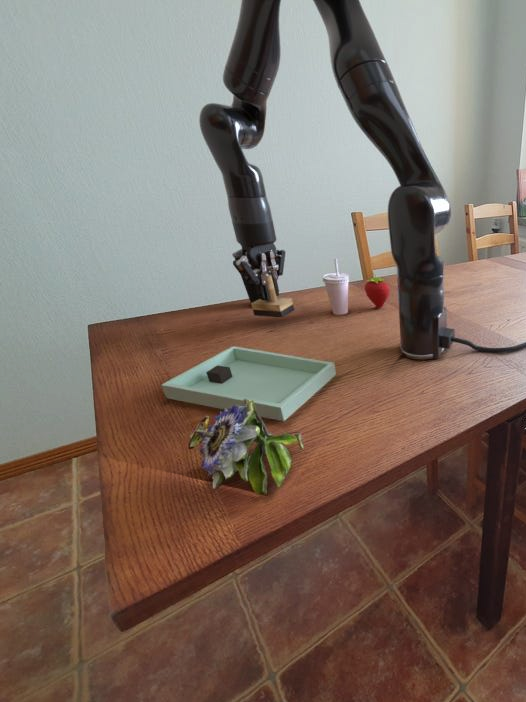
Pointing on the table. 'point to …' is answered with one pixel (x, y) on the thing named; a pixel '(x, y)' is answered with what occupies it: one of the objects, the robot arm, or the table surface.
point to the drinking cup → (249, 287)
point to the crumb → (219, 374)
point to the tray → (253, 382)
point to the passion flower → (243, 447)
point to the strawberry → (377, 291)
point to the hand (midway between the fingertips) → (269, 297)
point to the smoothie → (337, 290)
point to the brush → (272, 303)
